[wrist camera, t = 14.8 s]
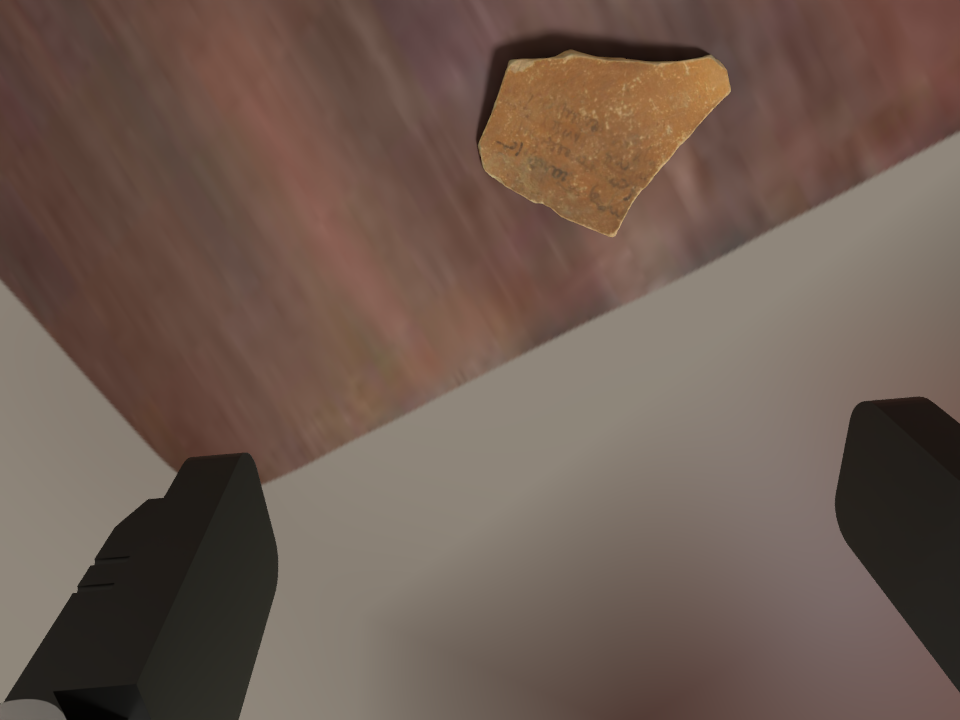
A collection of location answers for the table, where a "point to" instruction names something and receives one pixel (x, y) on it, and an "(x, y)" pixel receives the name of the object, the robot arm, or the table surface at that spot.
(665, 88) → the pottery shard
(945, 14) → the table surface
